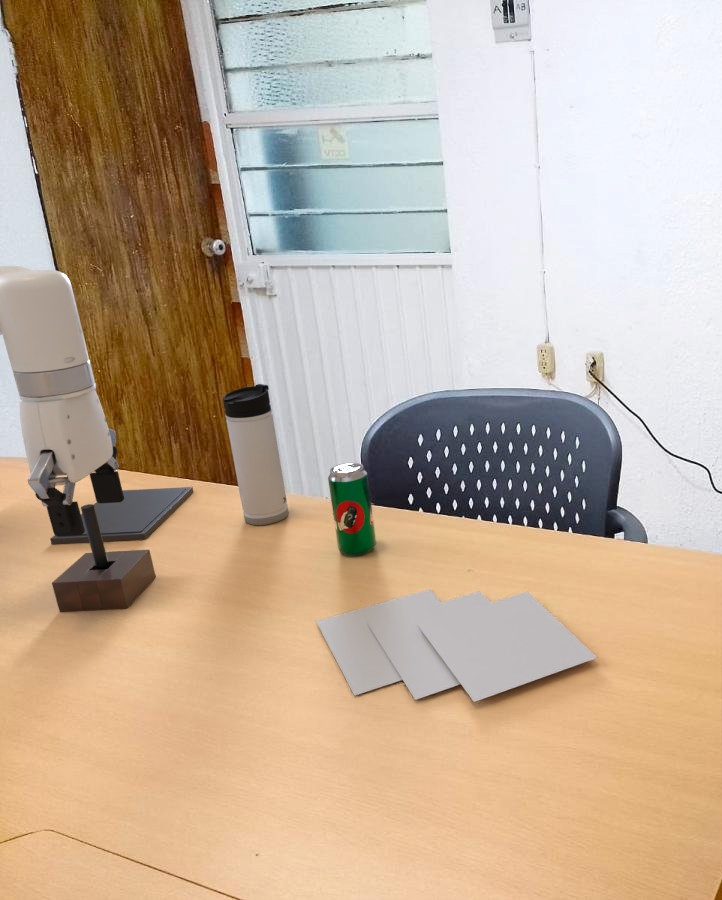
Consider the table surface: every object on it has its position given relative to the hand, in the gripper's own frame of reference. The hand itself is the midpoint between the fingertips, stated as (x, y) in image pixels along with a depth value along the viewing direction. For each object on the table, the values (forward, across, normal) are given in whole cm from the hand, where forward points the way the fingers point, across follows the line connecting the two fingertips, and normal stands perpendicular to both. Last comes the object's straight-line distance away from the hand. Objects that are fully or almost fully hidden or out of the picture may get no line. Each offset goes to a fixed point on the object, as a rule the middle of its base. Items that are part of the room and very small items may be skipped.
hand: (91, 517), depth 100 cm
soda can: (+11, -9, +29) cm, 32 cm away
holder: (+10, 0, 0) cm, 11 cm away
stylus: (+10, 0, 0) cm, 11 cm away
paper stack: (+11, +16, +44) cm, 48 cm away
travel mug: (+11, -22, +13) cm, 28 cm away
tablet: (+10, -25, -9) cm, 29 cm away
